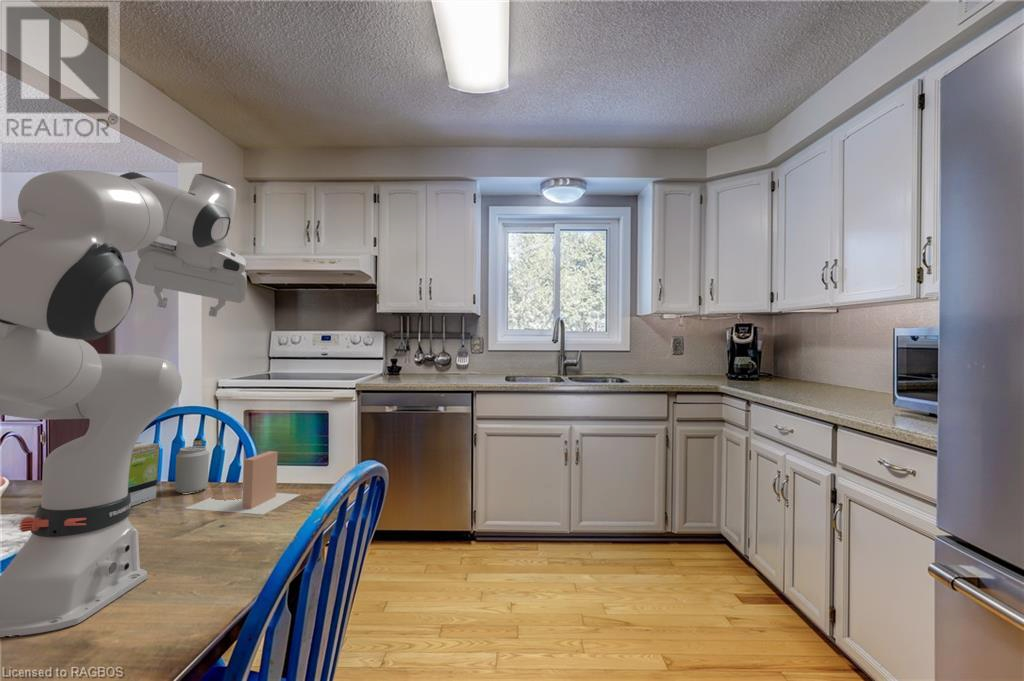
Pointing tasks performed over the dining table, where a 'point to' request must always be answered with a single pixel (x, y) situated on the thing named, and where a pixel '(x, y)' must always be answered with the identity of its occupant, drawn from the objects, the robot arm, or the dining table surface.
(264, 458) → the tile
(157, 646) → the dining table surface
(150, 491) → the tea box
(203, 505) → the mat
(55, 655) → the dining table surface
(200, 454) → the can
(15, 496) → the dining table surface
